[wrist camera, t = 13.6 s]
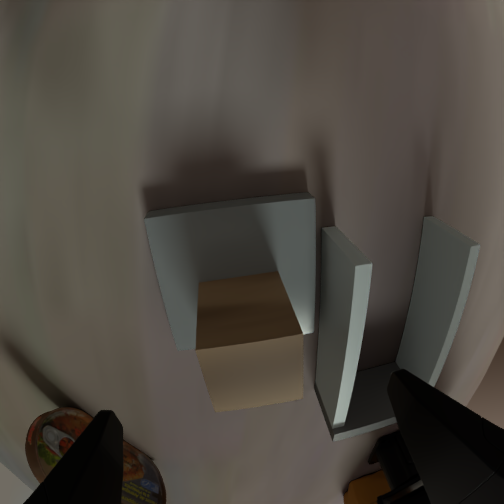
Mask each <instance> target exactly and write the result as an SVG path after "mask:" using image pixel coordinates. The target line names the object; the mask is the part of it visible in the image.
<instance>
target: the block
mask: <svg viewBox="0 0 504 504" xmlns="http://www.w3.org/2000/svg"><path fill="white" fill-rule="evenodd" d="M196 353H197V357H198V360H199V363H200V367H201V370H202V373H203V376H204V380H205V383H206V386H207V389H208V392H209V395H210V398H211V401H212V404H213V407H214V410H215V412H222V411H230V410H238V409H246V408H253V407H259V406H265V405H271V404H277V403H283V402H288V401H293V400H298V399H303V332H302V329H301V327H300V324H299V322H298V319H297V317H296V314H295V312H294V309H293V307H292V304H291V302H290V299H289V297H288V294H287V292H286V289H285V287H284V284H283V282H282V279H281V277H280V274H279V272H278V271H275V272H268V273H261V274H255V275H248V276H241V277H234V278H228V279H221V280H214V281H207V282H200V283H199V288H198V306H197V326H196Z"/></svg>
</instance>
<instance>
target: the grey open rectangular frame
mask: <svg viewBox="0 0 504 504" xmlns="http://www.w3.org/2000/svg"><path fill="white" fill-rule="evenodd" d="M479 249H480V244H478V243H477V242H475V241H474V240H472V239H471V238H469V237H467V236H466V235H464V234H463V233H461V232H459V231H458V230H456V229H454V228H453V227H451V226H449V225H448V224H446V223H444V222H443V221H441V220H439V219H438V218H436V217H434V216H428V217H424V220H423V229H422V237H421V244H420V251H419V257H418V264H417V270H416V275H415V281H414V286H413V291H412V296H411V301H410V306H409V310H408V315H407V319H406V323H405V327H404V332H403V335H402V339H401V343H400V347H399V351H398V354H397V358H396V361H395V362H392V363H389V364H385V365H382V366H378V367H375V368H371V369H367V370H363V371H359V372H356V371H357V366H358V361H359V355H360V350H361V344H362V339H363V332H364V326H365V320H366V313H367V306H368V298H369V291H370V282H371V273H372V264H373V263H372V262H371V261H370V260H369V259H368V258H367V257H366V256H365V255H364V254H363V253H362V252H361V251H360V250H359V249H358V248H357V247H356V246H355V245H354V244H353V243H352V242H351V241H350V240H349V239H348V238H347V237H346V236H345V235H344V234H343V233H342V232H341V231H340V230H339V229H338V228H337V227H336V226H332V227H323V228H322V239H321V290H320V315H319V335H318V351H317V365H316V378H315V392H316V395H317V398H318V401H319V404H320V407H321V409H322V412H323V415H324V418H325V421H326V424H327V427H328V429H329V432H330V435H331V438H332V441H333V442H334V441H338V440H342V439H345V438H349V437H353V436H356V435H360V434H363V433H366V432H370V431H373V430H376V429H379V428H382V427H385V426H388V425H391V424H394V423H397V421H396V418H395V415H394V412H393V409H392V406H391V403H390V400H389V397H388V393H387V385H388V382H389V379H390V376H391V373H392V372H393V371H395V370H398V369H406V370H407V371H409V372H411V373H412V374H414V375H415V376H417V377H418V378H420V379H422V380H423V381H425V382H426V383H428V384H430V385H431V386H433V387H434V386H435V384H436V382H437V380H438V377H439V375H440V373H441V370H442V368H443V366H444V363H445V361H446V358H447V356H448V353H449V351H450V348H451V345H452V343H453V340H454V337H455V334H456V332H457V329H458V326H459V323H460V320H461V317H462V314H463V311H464V307H465V304H466V301H467V297H468V294H469V290H470V287H471V283H472V279H473V275H474V271H475V267H476V263H477V259H478V254H479Z"/></svg>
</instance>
